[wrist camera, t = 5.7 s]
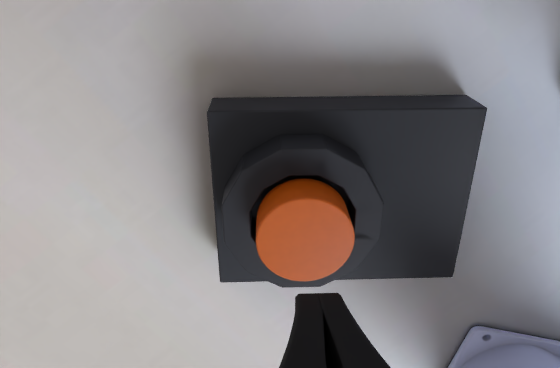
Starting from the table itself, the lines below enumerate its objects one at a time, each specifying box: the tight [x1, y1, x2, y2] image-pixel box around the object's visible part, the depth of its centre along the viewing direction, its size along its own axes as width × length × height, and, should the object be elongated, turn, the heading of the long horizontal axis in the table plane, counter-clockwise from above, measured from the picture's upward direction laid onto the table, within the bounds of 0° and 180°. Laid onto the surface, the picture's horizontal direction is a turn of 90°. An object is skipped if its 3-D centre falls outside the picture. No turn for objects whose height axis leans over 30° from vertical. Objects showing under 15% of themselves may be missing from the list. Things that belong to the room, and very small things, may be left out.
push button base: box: [207, 95, 487, 287], centre depth 21 cm, size 12×9×4 cm
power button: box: [256, 178, 355, 281], centre depth 19 cm, size 4×4×2 cm
